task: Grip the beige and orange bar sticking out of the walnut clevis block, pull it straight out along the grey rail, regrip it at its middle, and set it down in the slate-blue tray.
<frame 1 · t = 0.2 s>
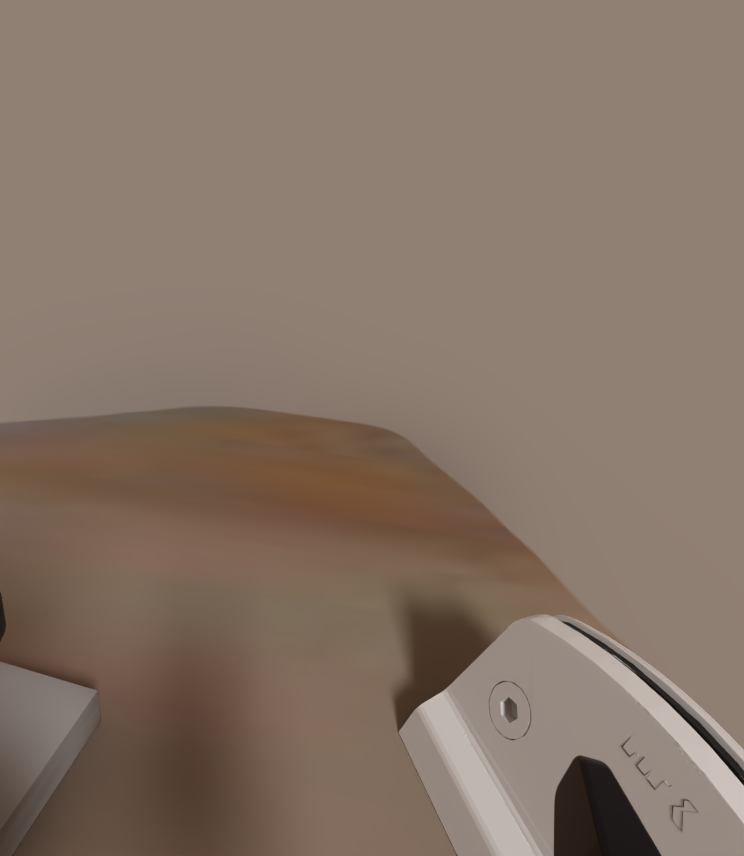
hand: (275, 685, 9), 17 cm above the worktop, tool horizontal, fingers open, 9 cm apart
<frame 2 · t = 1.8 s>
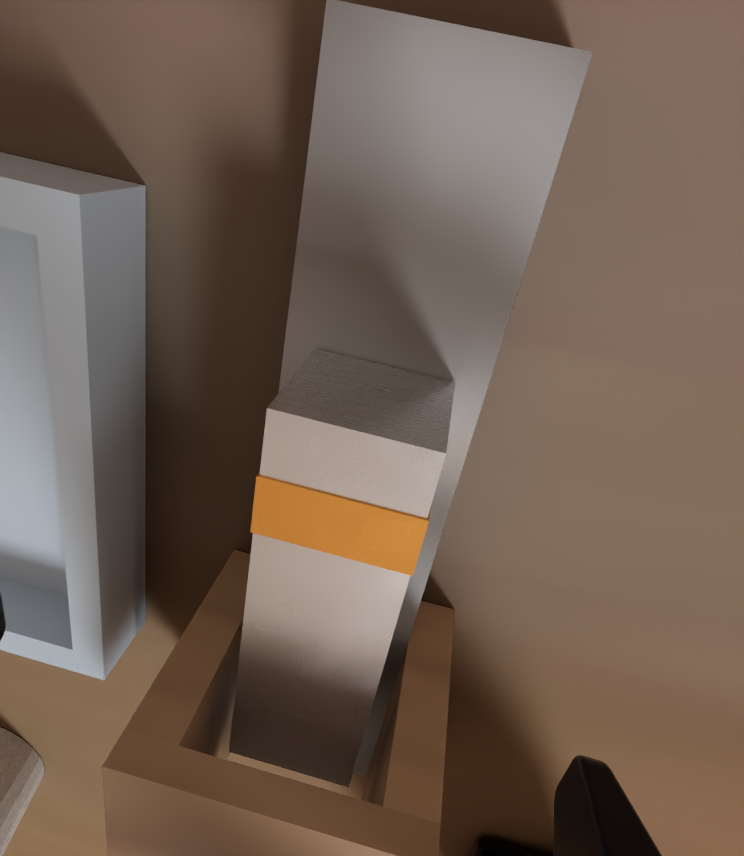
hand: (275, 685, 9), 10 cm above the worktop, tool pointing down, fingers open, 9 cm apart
house plant: (21, 749, 31), on the worktop
beige and orange bar: (346, 540, 18), point 2 cm above the worktop, touching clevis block
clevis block: (326, 652, 23), on the worktop
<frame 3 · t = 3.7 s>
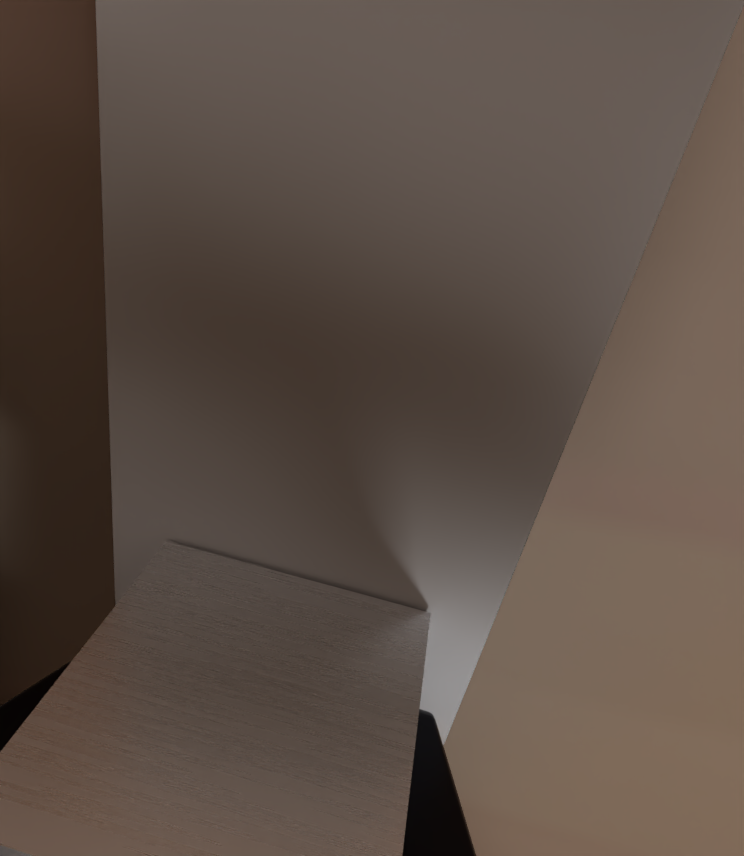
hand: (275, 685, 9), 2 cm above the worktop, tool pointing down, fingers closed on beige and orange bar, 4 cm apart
beige and orange bar: (257, 812, 11), point 2 cm above the worktop, touching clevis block, gripper
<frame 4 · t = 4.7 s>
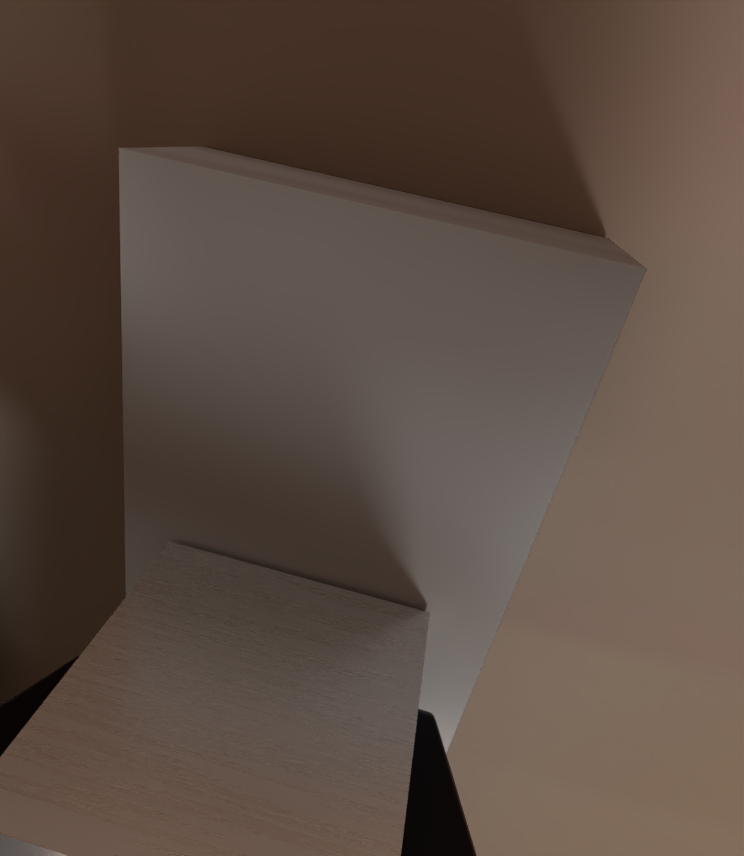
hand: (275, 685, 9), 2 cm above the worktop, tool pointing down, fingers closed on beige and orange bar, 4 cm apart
beige and orange bar: (258, 811, 11), point 2 cm above the worktop, touching gripper
when the fingers open (2 cm above the worktop, at t = 6.1 s): beige and orange bar stays where it is, resting on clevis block.
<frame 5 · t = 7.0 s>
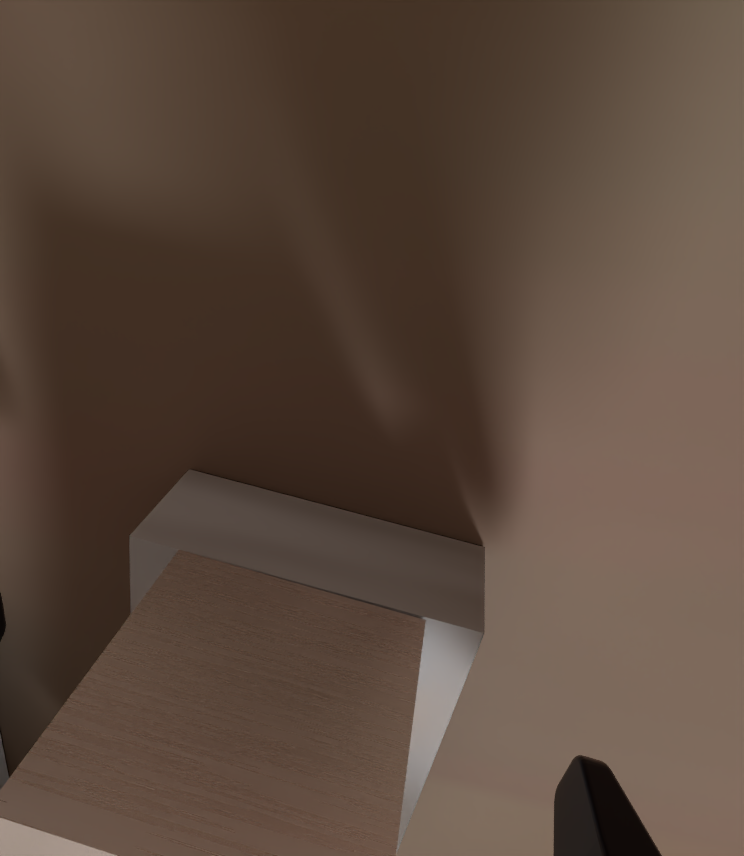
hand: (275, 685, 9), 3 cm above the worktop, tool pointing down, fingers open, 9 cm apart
beige and orange bar: (258, 805, 11), point 2 cm above the worktop, touching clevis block
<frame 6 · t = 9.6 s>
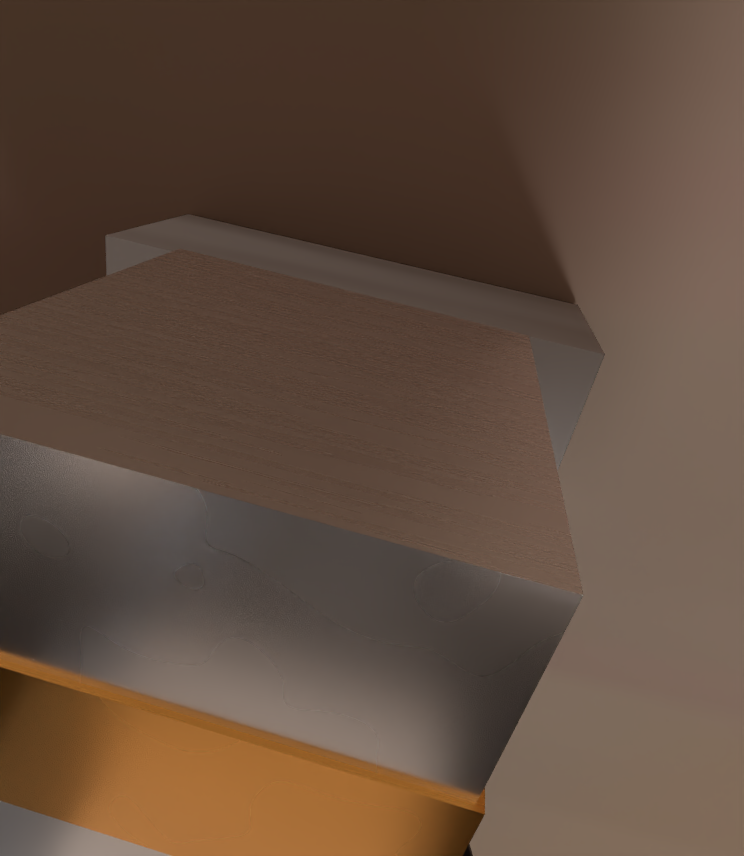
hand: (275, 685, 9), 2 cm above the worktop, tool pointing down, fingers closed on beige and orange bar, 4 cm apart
beige and orange bar: (281, 668, 9), point 2 cm above the worktop, touching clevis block, gripper
when the fingers open (3 cm above the worktop, at t = 13.8 s): beige and orange bar drops 2 cm, resting on tray.
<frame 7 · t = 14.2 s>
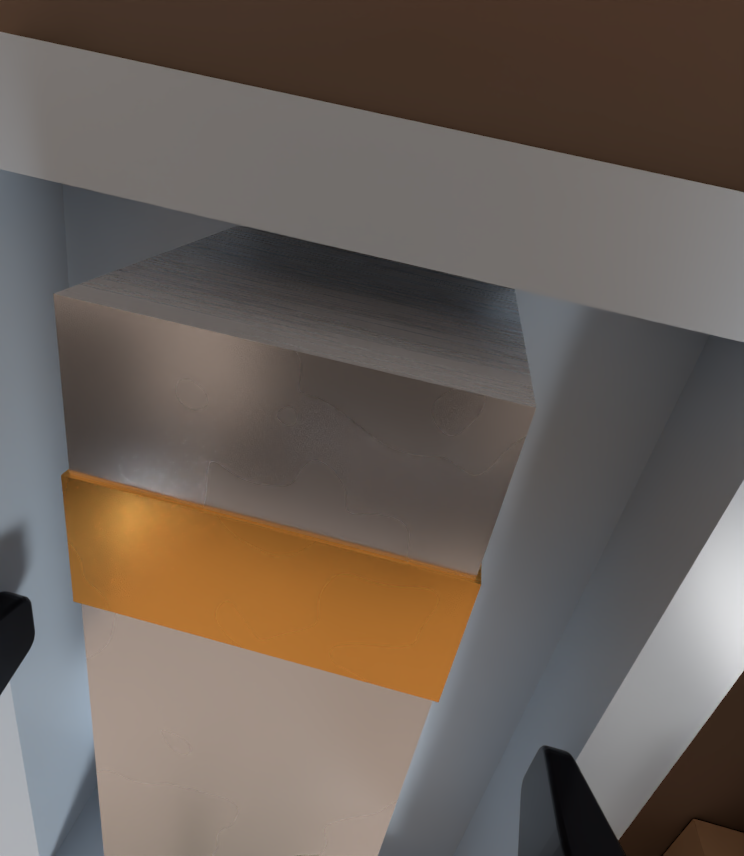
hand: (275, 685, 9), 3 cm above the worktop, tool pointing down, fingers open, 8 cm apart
tray: (315, 594, 12), on the worktop
beige and orange bar: (315, 585, 11), point 1 cm above the worktop, touching tray
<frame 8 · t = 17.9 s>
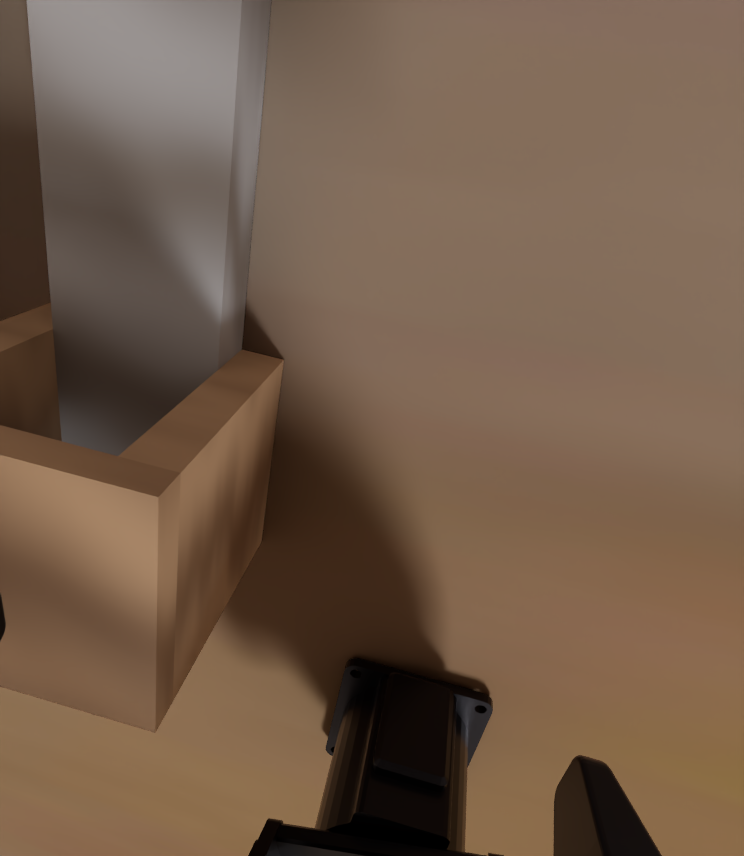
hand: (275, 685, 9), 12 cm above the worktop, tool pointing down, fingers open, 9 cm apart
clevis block: (163, 430, 22), on the worktop
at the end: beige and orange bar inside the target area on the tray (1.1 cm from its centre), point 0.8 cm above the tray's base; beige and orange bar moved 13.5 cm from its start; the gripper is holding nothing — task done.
